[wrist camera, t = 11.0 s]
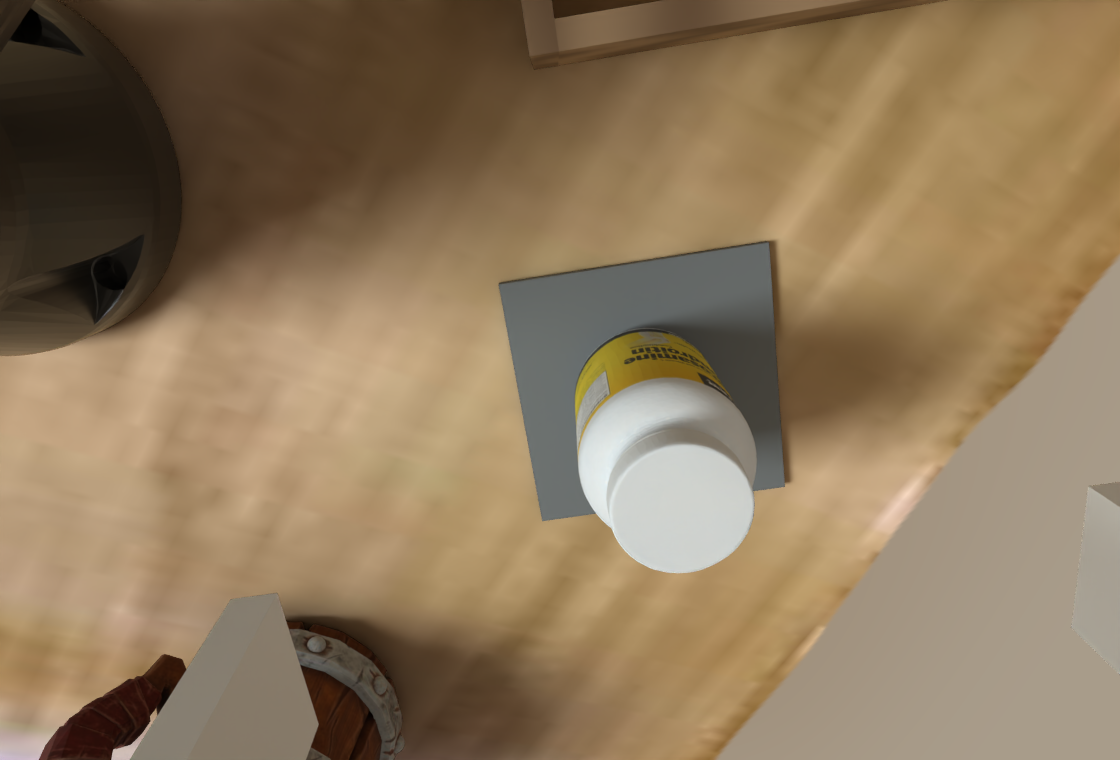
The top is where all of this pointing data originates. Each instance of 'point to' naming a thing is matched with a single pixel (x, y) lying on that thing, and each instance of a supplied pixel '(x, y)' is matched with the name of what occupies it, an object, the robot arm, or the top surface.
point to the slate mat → (632, 303)
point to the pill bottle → (663, 451)
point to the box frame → (673, 24)
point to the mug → (332, 681)
